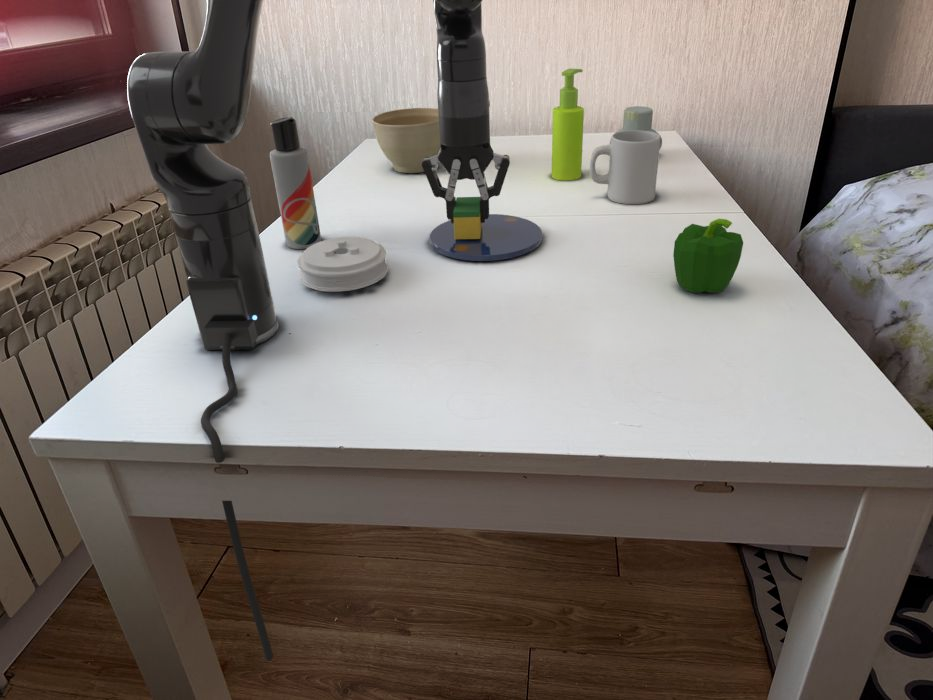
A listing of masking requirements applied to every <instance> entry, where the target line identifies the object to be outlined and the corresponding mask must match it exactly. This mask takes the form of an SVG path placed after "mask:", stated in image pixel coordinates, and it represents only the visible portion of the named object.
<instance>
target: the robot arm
mask: <svg viewBox="0 0 933 700" xmlns="http://www.w3.org/2000/svg"><path fill="white" fill-rule="evenodd" d="M263 2H264V0H206V15H205V22H204V27H203V31H202V36H201V40H200V43H199V45H198V47H197V49H196V50H195V51H151V52H146V53H143V54H142V55H139V56H138V57H136V58H135V60H134V61H133V62H132V64H131V65H130V68H129V71H128V75H127V82H126V83H127V84H126V85H127V86H126V87H127V89H126V91H127V101H128V106H129V111H130V115H131V119H132V121H133V124H134V128H135V130H136V134H137V137H138V139H139V142H140V145H141V149H142V152H143V154H144V157H145V160H146V163H147V166H148V169H149V173H150V175H151V178H152V180H153V182H154V184H155V186H156V187H157V189H158V190H159V192H160V193H161V194H162V195H163V197H164V199H165V202H166V205H167V209H168V213H169V216H170V221H171V224H172V228H173V232H174V235H175V239H176V243H177V247H178V250H179V253H180V257H181V260H182V264H183V269H184V272H185V276H186V280H185V282H186V283H185V284H186V287H187V291H188V295H189V298H190V301H191V305H192V309H193V312H194V316H195V320H196V323H197V324H196V325H197V328H198V330H199V334H200V339H201V342H202V346H203V349H204V350H205V351H221V361H222V366H223V371H224V374H225V379H226V383H227V386H228V390H227V392H226V394H224V395H223V396H222V397H220V398H218V399H217V400H215V401H213V402H212V403H210V404H209V405H208V406H207V407H206V408H205V409H204V411H203V412H202V415H201V418H200V424H201V425H200V426H201V428H202V430H203V431H204V433H205V434H206V436H207V437H208V440H209V441H210V442H209V443H210V444H211V448H212V452H213V456H214V461H215V463H217V464H219V463H222V462H224V460H225V454H224V448H223V444H222V441H221V438H220V436H219V434H218V432H217V431H216V429H215V427H214V426H213V424H212V423H211V418H212V415H213V414H214V413H215V412H217V411H218V410H220V409H221V408H223V407H225V406H226V405H227V404H229V403H230V402H232V401H233V399H234V398H235V397H236V395H237V393H238V385H237V382H236V378H235V374H234V370H233V367H232V362H231V351H233V350H234V351H235V350H240V351H241V350H242V351H247V350H251V351H252V350H253V349H255V347H256V346H257V345H259V344H261V343H263V342H266V341H267V340H269V339H271V337H273V336H274V335H275V334H276V333H277V331H278V330H279V327H280V325H279V319H278V316H277V314H276V310H275V304H274V300H273V299H274V298H273V295H272V290H271V285H270V281H269V280H270V279H269V275H268V270H267V267H266V260H265V257H264V256H265V255H264V252H263V246H262V242H261V238H260V237H261V236H260V232H259V226H258V222H257V218H256V212H255V207H254V202H253V198H252V193H251V188H250V184H249V180H248V176H247V175H246V173H245V172H244V171H243V170H241V169H240V168H238V167H236V166H234V165H232V164H230V163H228V162H226V161H224V160H223V159H221V158H220V157H218V156H217V155H216V154H215V153H214V152H212V151H211V149H210V148H209V147H208V146H207V145H223V144H229V143H231V142H232V141H234V140H235V139H236V138H238V136H239V135H240V133H241V131H242V130H243V127H244V125H245V122H246V119H247V115H248V112H249V107H250V101H251V93H252V85H253V77H254V67H255V56H256V49H257V39H258V31H259V24H260V21H261V20H260V19H261V14H262V7H263ZM482 3H483V0H432V5H433V15H434V20H435V30H436V69H437V94H436V96H437V99H436V100H437V109H438V116H439V132H440V150H439V152H438V155H435V156H433V157H425V158H424V159H423V162H422V167H423V170H424V172H423V173H424V175H425V177H426V179H427V182H428V184H429V186H430V189H431V191H432V194H433V196H434V197H435V198H440V199H443V200H445V207H446V208H445V209H446V218H447V221H449V220H451V223H454V217H453V211H454V207H455V204H456V198H457V196H455V191H456V187H457V183H458V181H463V180H466V179H468V180H472V181H473V180H474V181H475V185H476V187H477V190H478V192H479V195H480V196H479V197H480V222H481V223H485V219H488V217H489V214H490V199H491V198H493V197H498V196H500V195H501V191H502V188H503V186H504V183H505V179H506V176H507V173H508V170H509V167H510V164H511V158H510V155H508V154H503V155H502V154H499V153H497V152H495V151H494V149H493V147H492V146H491V121H490V107H491V103H490V92H489V86H488V85H489V83H488V77H487V49H486V40H485V38H484V34H483V24H482V23H483V18H482V17H483V16H482V14H483V13H482V12H483V11H482V10H483V9H482V8H483V7H482ZM492 162H493V163H494V169H495V170H497V172H496V175H495V177H494V178H495V179H494V182H493V184H492V185H491V186H488V182H487V178H486V175H485V171H486V170H487V168H488V167H489V165H490V164H491V163H492ZM439 163H440V164H441V166H442V167H443V168H444V169H445V171H446V172H447V173H448V174H449V177H448V183H447V187H443V185H442V183H441V180H440V178H439V175H438V173H437V171H438V169H439ZM221 501H222V502H221V503H222V506H223V510H224V516H225V519H226V524H227V529H228V532H229V536H230V540H231V544H232V548H233V551H234V556H235V559H236V563H237V567H238V570H239V573H240V577H241V580H242V584H243V587H244V590H245V594H246V597H247V601H248V603H249V607H250V610H251V613H252V616H253V620H254V623H255V626H256V630H257V632H258V633H257V634H258V636H259V641H260V643H261V646H262V649H263V653H264V657H265V660H266V661H272V660H273V659H274V652H273V649H272V645H271V642H270V638H269V635H268V631H267V628H266V623H265V621H264V618H263V615H262V611H261V608H260V604H259V601H258V597H257V595H256V591H255V587H254V584H253V580H252V577H251V574H250V570H249V567H248V562H247V559H246V558H247V557H246V555H245V552H244V551H245V550H244V548H243V547H244V546H243V543H242V539H241V536H240V532H239V526H238V522H237V518H236V514H235V510H234V505H233V500H221Z"/></svg>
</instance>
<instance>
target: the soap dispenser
mask: <svg viewBox="0 0 933 700" xmlns="http://www.w3.org/2000/svg"><path fill="white" fill-rule="evenodd" d="M583 71H584V70H583V69H582V68H567V69H565V70H563V71H562V72H561V76H562V77H564V86H563V87H562V88H561V89H559V106H555V107H553V108H552V130H551V131H552V135H551V136H552V137H551V138H552V139H551V140H552V141H551V178H552V179H554V180H557V181H567V182H568V181H569V182H570V181H575V180H578V179H580V178H581V177H582V166H583V165H582V163H583V143H584V142H583V141H584V119H585V118H584V116H585V108H584V107H583V106H579V105H578V103H579V102H578V99H579V89H578V88H576V86H575V85H574V83H575V75H576V74H579V73H583Z"/></svg>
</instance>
